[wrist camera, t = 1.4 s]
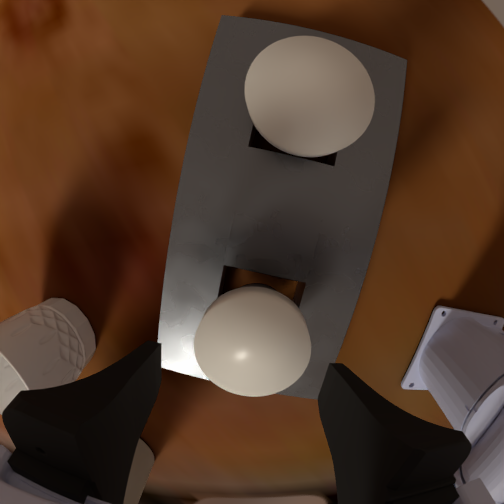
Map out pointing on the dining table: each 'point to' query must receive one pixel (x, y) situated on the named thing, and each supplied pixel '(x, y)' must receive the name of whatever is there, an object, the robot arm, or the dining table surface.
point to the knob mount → (275, 203)
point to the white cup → (43, 348)
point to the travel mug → (138, 473)
